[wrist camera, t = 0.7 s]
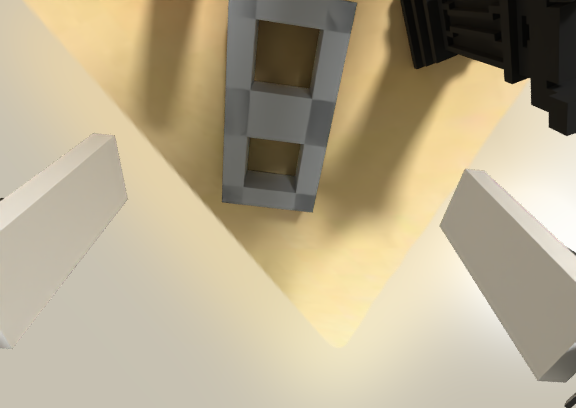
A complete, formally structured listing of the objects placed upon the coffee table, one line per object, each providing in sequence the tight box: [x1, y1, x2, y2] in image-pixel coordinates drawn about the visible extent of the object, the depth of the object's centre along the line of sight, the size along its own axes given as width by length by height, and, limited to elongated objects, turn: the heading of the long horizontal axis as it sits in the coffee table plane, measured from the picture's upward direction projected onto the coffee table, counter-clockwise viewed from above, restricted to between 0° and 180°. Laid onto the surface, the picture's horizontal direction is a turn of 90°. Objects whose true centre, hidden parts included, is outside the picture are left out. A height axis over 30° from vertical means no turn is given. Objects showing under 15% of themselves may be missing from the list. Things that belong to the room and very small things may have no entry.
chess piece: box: [400, 0, 576, 136], centre depth 21 cm, size 8×8×20 cm
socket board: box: [222, 0, 357, 212], centre depth 32 cm, size 20×10×4 cm, turn 172°
